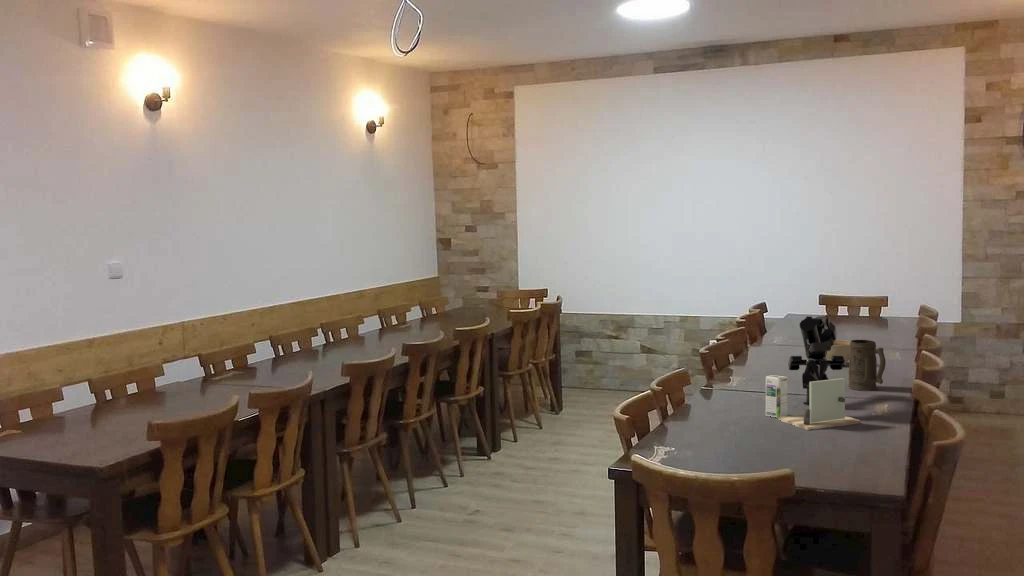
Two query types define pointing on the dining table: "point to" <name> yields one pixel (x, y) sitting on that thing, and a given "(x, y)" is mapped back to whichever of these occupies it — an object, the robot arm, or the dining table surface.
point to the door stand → (804, 422)
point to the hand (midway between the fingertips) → (820, 382)
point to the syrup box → (776, 396)
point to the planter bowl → (840, 350)
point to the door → (827, 400)
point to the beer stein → (865, 365)
